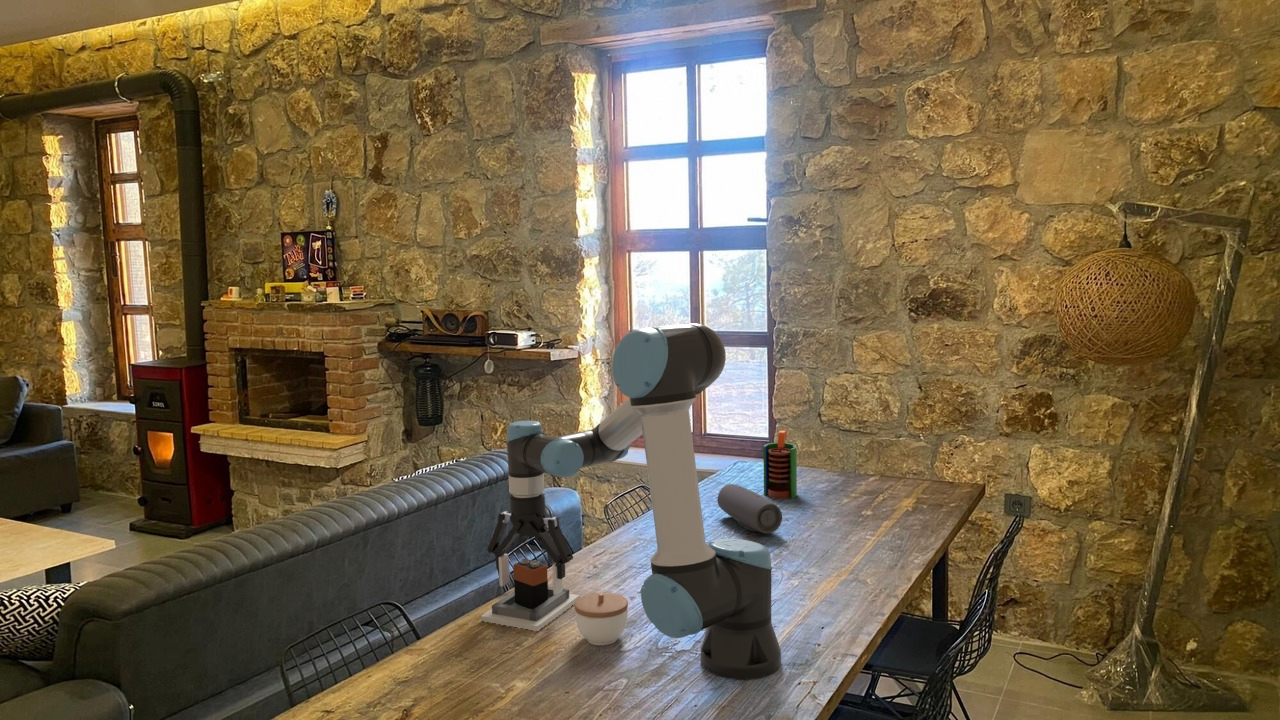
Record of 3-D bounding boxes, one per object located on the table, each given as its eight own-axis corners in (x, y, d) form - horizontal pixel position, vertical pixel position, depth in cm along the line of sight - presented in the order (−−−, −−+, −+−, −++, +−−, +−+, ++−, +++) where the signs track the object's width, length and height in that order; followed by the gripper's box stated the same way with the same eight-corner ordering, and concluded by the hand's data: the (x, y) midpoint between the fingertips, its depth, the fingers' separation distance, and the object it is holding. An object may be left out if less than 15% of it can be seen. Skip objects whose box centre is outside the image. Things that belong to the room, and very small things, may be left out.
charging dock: (537, 631, 188) (536, 617, 188) (481, 621, 194) (480, 607, 194) (579, 600, 205) (579, 587, 204) (526, 591, 211) (526, 579, 210)
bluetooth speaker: (784, 535, 246) (784, 499, 245) (754, 540, 243) (753, 503, 242) (744, 513, 267) (744, 480, 266) (715, 517, 264) (715, 484, 263)
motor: (762, 497, 283) (761, 434, 281) (766, 490, 292) (766, 428, 289) (795, 499, 280) (794, 435, 278) (798, 492, 289) (798, 429, 286)
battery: (534, 611, 195) (532, 566, 194) (513, 603, 200) (512, 559, 199) (549, 605, 199) (548, 561, 197) (529, 598, 203) (527, 554, 202)
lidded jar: (600, 623, 192) (598, 580, 191) (639, 636, 185) (638, 592, 184) (564, 641, 184) (562, 596, 182) (604, 655, 177) (603, 609, 176)
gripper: (586, 494, 194) (589, 590, 197) (488, 483, 205) (492, 575, 207) (569, 503, 188) (572, 602, 190) (468, 492, 198) (473, 586, 201)
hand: (531, 588), depth 199 cm, fingers open, 13 cm apart
